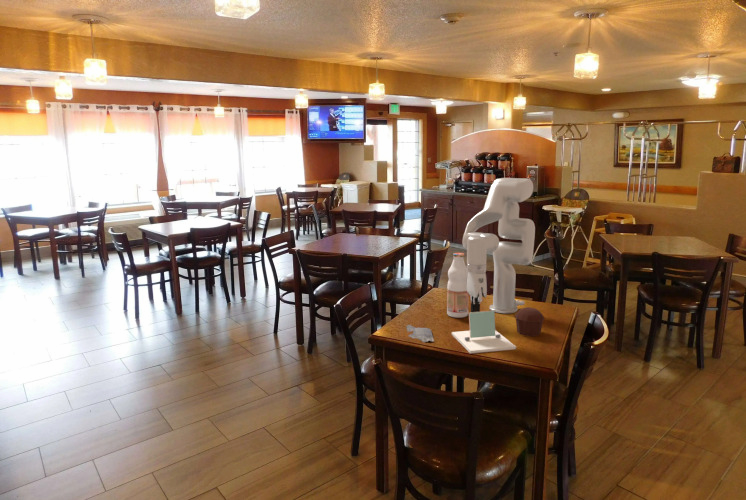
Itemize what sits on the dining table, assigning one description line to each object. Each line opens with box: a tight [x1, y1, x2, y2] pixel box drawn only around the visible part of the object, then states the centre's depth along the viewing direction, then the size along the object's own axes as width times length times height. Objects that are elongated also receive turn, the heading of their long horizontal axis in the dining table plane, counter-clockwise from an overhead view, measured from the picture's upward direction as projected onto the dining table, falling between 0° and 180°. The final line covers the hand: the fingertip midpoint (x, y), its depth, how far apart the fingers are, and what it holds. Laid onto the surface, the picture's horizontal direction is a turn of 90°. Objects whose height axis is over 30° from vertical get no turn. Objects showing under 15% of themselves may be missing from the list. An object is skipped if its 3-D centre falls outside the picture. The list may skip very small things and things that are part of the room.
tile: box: [468, 310, 496, 338], centre depth 201 cm, size 10×10×1 cm
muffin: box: [514, 307, 546, 337], centre depth 210 cm, size 12×11×10 cm
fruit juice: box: [446, 252, 470, 319], centre depth 231 cm, size 9×9×28 cm
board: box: [451, 329, 517, 354], centre depth 202 cm, size 18×20×2 cm
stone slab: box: [406, 324, 435, 343], centre depth 210 cm, size 18×2×10 cm
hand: (475, 312), depth 208 cm, fingers closed
